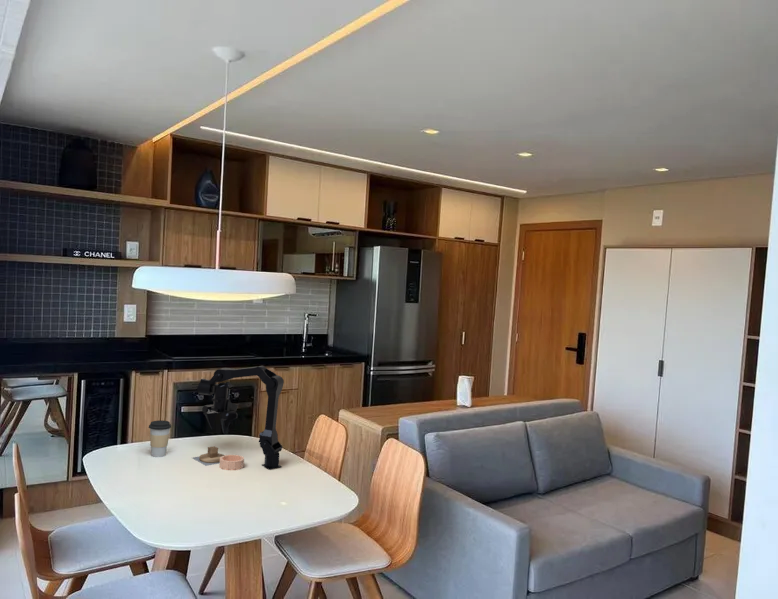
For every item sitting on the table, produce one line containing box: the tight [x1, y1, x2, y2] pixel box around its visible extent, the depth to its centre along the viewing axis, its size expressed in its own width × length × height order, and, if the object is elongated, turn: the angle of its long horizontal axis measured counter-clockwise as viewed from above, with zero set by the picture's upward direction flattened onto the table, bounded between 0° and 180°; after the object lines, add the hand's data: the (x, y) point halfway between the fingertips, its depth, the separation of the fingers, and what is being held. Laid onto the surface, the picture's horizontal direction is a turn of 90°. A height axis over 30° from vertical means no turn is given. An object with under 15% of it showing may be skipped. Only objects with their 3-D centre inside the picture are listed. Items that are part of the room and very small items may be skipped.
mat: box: [192, 455, 220, 467], centre depth 260 cm, size 13×13×1 cm
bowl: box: [219, 454, 245, 471], centre depth 252 cm, size 10×10×4 cm
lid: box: [198, 445, 225, 464], centre depth 260 cm, size 11×11×5 cm
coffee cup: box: [148, 419, 172, 458], centre depth 260 cm, size 9×9×15 cm
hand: (218, 431), depth 263 cm, fingers open, 9 cm apart
